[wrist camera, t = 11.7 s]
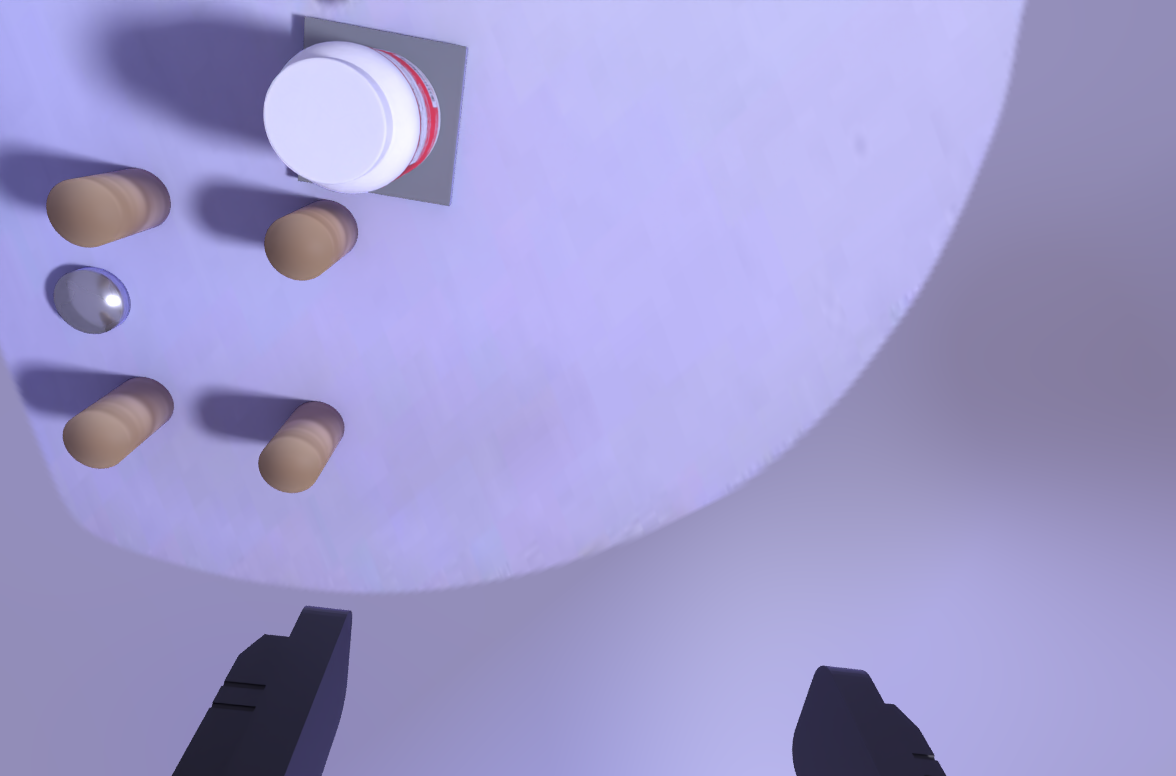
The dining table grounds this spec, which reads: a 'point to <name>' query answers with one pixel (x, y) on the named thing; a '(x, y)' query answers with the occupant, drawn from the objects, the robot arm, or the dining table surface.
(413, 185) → the slate coaster
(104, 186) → the cylinder
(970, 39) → the dining table surface
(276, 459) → the cylinder
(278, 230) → the cylinder
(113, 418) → the cylinder
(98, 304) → the shiny metal disc
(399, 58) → the pill bottle
